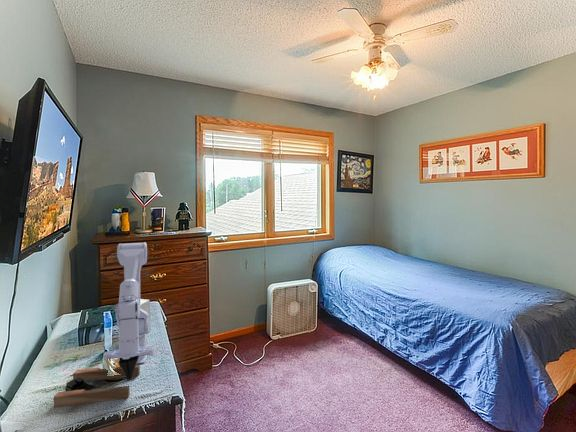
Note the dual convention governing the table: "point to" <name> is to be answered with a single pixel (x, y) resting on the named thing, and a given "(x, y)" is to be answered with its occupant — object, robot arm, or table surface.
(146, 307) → the skincare box
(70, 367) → the table surface
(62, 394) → the walled channel
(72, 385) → the black piece
